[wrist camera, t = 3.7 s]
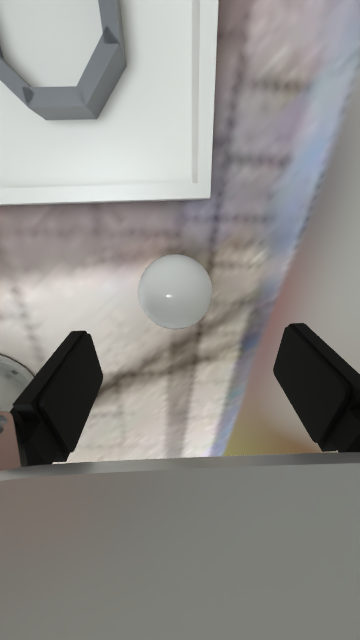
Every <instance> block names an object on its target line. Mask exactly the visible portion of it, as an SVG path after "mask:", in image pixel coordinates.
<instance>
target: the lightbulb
mask: <svg viewBox="0 0 360 640" xmlns="http://www.w3.org/2000/svg"><path fill="white" fill-rule="evenodd" d="M212 293H213V290H212V283H211V280H210V277H209V275H208V273H207V271H206V270H205V269H204V267H203V266H202V265H201V264H200V263H199V262H197V261H196V260H194V259H193V258H191V257H188V256H185V255H180V254H170V255H165V256H162V257H160V258H158V259H156V260H154V261H153V262H152V263H151V264H150V265H149V266H148V267H147V268H146V269H145V271H144V272H143V274H142V276H141V278H140V281H139V286H138V297H139V302H140V305H141V307H142V309H143V311H144V313H145V314H146V315H147V316H148V318H149V319H150V320H152V321H153V322H154V323H156V324H157V325H159V326H161V327H164V328H168V329H183V328H187V327H189V326H192V325H194V324H195V323H197V322H198V321H199V320H200V319H201V318H202V317H203V316H204V315H205V314H206V312H207V311H208V309H209V307H210V304H211V301H212Z"/></svg>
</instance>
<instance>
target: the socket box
mask: <svg viewBox="0 0 360 640" xmlns="http://www.w3.org/2000/svg"><path fill="white" fill-rule="evenodd" d="M217 22H218V0H0V206H20V205H54V204H88V203H121V202H155V201H189V200H203V199H208V198H210V190H211V166H212V142H213V118H214V94H215V70H216V46H217Z"/></svg>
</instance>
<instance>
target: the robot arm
mask: <svg viewBox="0 0 360 640" xmlns="http://www.w3.org/2000/svg"><path fill="white" fill-rule="evenodd" d="M273 371H274V375H275V377H276V379H277V380H278V382H279V384H280V385H281V387H282V389H283V390H284V392H285V394H286V396H287V397H288V399H289V401H290V403H291V404H292V406H293V408H294V410H295V411H296V413H297V414H298V416H299V418H300V420H301V422H302V423H303V425H304V427H305V428H306V430H307V432H308V433H309V435H310V437H311V439H312V440H313V441H314V442H315V443H318V445H319V447H320V448H321V450H322V451H323V452H324V451H336V450H338V452H339V453H303V454H276V455H275V454H274V455H247V456H246V455H245V456H219V457H194V458H169V459H145V460H123V461H101V462H81V463H65V464H52V463H53V462H66V461H67V458H68V456H69V454H70V452H73V451H74V450H75V448H76V445H77V443H78V440H79V438H80V435H81V433H82V430H83V428H84V426H85V423H86V421H87V418H88V416H89V413H90V411H91V408H92V406H93V403H94V401H95V398H96V396H97V393H98V391H99V389H100V386H101V384H102V381H103V373H102V370H101V367H100V364H99V360H98V357H97V354H96V351H95V347H94V344H93V341H92V337H91V335H90V334H87V332H86V331H72V332H70V334H69V335H68V336H67V337H66V339H65V340H64V341H63V342H62V344H61V345H60V346H59V347H58V348H57V350H56V351H55V352H54V353H53V355H52V356H51V357H50V358H49V360H48V361H47V362H46V363H45V365H44V366H43V367H42V368H41V370H40V371H39V372H38V373H37V374H36V376H35V377H33V376H32V374H31V373H30V372H29V371H28V370H27V369H26V368H24V367H23V366H22V365H20V364H19V363H17V362H15V361H13V360H11V359H9V358H7V357H4V356H2V355H0V640H360V374H359V373H358V372H357V371H355V370H354V369H353V368H352V367H351V366H350V365H349V364H348V363H347V362H346V361H345V360H344V359H342V358H341V357H340V356H339V355H338V354H337V353H336V352H335V351H334V350H333V349H332V348H331V347H329V346H328V345H327V344H326V343H325V342H324V341H323V340H322V339H321V338H320V337H319V336H317V335H316V334H315V333H314V332H313V331H312V330H311V329H310V328H309V327H308V326H307V325H306V324H304V323H294V324H290V325H289V326H288V327H286V328H285V330H284V333H283V337H282V340H281V344H280V347H279V351H278V354H277V358H276V361H275V365H274V369H273Z"/></svg>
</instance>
